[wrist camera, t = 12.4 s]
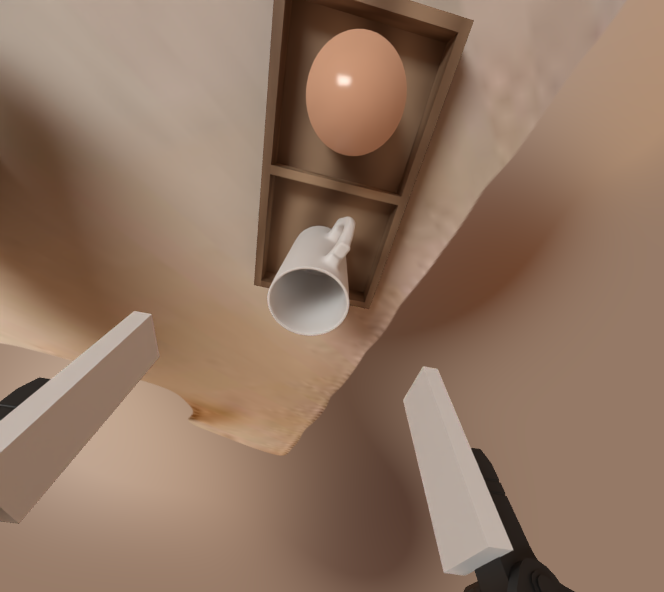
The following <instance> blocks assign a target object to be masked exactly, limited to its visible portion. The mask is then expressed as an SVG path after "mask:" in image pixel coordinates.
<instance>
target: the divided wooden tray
mask: <svg viewBox="0 0 664 592" xmlns="http://www.w3.org/2000/svg"><path fill="white" fill-rule="evenodd" d="M473 22H474V20H470V19H467V18H464V17H461V16H458V15H455V14H451V13H448V12H445V11H442V10H439V9H436V8H432V7H429V6H426V5H423V4H420V3H417V2H413V1H410V0H274V4H273V19H272V33H271V48H270V62H269V77H268V91H267V106H266V120H265V135H264V149H263V164H262V178H261V192H260V207H259V221H258V236H257V250H256V265H255V279H254V285H256V286H261V287H266V288H270V286H271V284H272V282H273V280H274V278H275V276H276V274H277V272H278V270H279V269H280V267H281V265H282V263H283V262H284V260H285V258H286V256H287V254H288V253H289V251H290V249H291V247H292V245H293V244H294V242H295V240H296V239H297V237H298V236H299V234H300V233H301V232H303V231H304V230H305V229H307V228H309V227H313V226H325V227H328V228H330V229H332V228H333V226H334V225H335V223H336V222H337V220H338V219H340V218H343V217H351V218H353V219H354V220H355V230H354V235H353V239H352V242H351V245H350V251H349V252H348V253H347V255H346V263H347V275H348V287H349V305H352V306H357V307H362V308H367V309H369V308H370V305H371V302H372V299H373V297H374V294H375V291H376V288H377V286H378V283H379V280H380V277H381V275H382V272H383V269H384V266H385V264H386V261H387V258H388V255H389V253H390V250H391V247H392V244H393V242H394V239H395V236H396V233H397V231H398V228H399V225H400V222H401V220H402V217H403V214H404V211H405V209H406V206H407V203H408V200H409V198H410V195H411V192H412V189H413V187H414V184H415V181H416V178H417V176H418V173H419V170H420V167H421V165H422V162H423V159H424V156H425V154H426V151H427V148H428V145H429V143H430V140H431V137H432V134H433V132H434V129H435V126H436V123H437V121H438V118H439V115H440V112H441V110H442V107H443V104H444V101H445V99H446V96H447V93H448V90H449V88H450V85H451V82H452V79H453V77H454V74H455V71H456V68H457V66H458V63H459V60H460V57H461V55H462V52H463V49H464V46H465V44H466V41H467V38H468V35H469V33H470V30H471V27H472V24H473ZM352 29H366V30H371V31H373V32H376V33H378V34H380V35H381V36H383V37H384V38H385V39H387V40H388V41H389V42H390V43H391V44H392V46H393V47H394V48H395V50H396V51H397V53H398V54H399V56H400V59H401V61H402V63H403V67H404V70H405V75H406V82H407V97H406V104H405V108H404V112H403V115H402V118H401V120H400V122H399V124H398V127H397V128H396V130H395V131H394V133H393V134H392V136H391V137H390V138H389V139H388V140H387V141H386V142H385V143H384V144H383V145H382V146H381V147H379V148H378V149H376V150H374V151H373V152H370V153H368V154H365V155H360V156H347V155H343V154H340V153H337V152H335V151H333V150H332V149H330V148H329V147H327V146H326V145H325V144H324V143H323V142H322V141H321V139H320V138H319V137H318V136H317V134H316V132H315V131H314V129H313V127H312V125H311V122H310V119H309V116H308V112H307V105H306V86H307V80H308V75H309V72H310V69H311V66H312V64H313V62H314V60H315V58H316V56H317V54H318V53H319V52H320V50H321V49H322V48H323V46H324V45H325V44H326V43H327V42H328V41H329V40H331V39H332V38H333V37H335V36H336V35H338V34H340V33H342V32H345V31H347V30H352Z"/></svg>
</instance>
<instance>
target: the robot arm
mask: <svg viewBox="0 0 664 592" xmlns="http://www.w3.org/2000/svg"><path fill="white" fill-rule="evenodd" d="M159 357H160V356H159V350H158V345H157V339H156V334H155V329H154V323H153V318H152V314H149V313H143V312H138V311H133V312H132V313H131V314H130V315H129V316H127V317H126V318H125V319H124V320H122V321H121V322H120V323H119V324H118V325H116V326H115V327H114V328H113V329H111V330H110V331H109V332H108V333H107V334H105V335H104V336H103V337H102V338H101V339H99V340H98V341H97V342H96V343H94V344H93V345H92V346H91V347H90V348H88V349H87V350H86V351H85V352H83V353H82V354H81V355H80V356H79V357H77V358H76V359H75V360H74V361H73V362H71V363H70V364H69V365H68V366H66V367H65V368H64V369H63V370H62V371H60V372H59V373H58V374H57V375H56V376H54V377H53V378H52V379H45V378H37V379H36V380H34V381H32V382H30V383H28V384H26V385H24V386H22V387H20V388H18V389H16V390H15V391H14V392H12V393H11V394H10V395H8V396H7V397H6V398H4V399H3V400H2V401H1V402H0V521H1V522H10V523H18V524H19V523H20V522H21V521H22V520H23V518H24V517H25V516H26V515H27V514H28V512H29V511H30V510H31V509H32V508H33V507H34V505H35V504H36V503H37V502H38V501H39V499H40V498H41V497H42V496H43V494H44V493H45V492H46V491H47V490H48V489H49V488H50V486H51V485H52V484H53V482H55V480H56V479H57V478H58V477H59V476H60V474H61V473H62V472H63V471H64V470H65V469H66V467H67V466H68V465H69V464H70V463H71V461H72V460H73V459H74V458H75V457H76V455H77V454H78V453H79V452H80V451H81V450H82V448H83V447H84V446H85V445H86V444H87V442H88V441H89V440H90V439H91V438H92V436H93V435H94V434H95V433H96V432H97V431H98V429H99V428H100V427H101V426H102V424H103V423H104V422H105V421H106V420H107V419H108V417H109V416H110V415H111V414H112V413H113V411H114V410H115V409H116V408H117V407H118V406H119V404H120V403H121V402H122V401H123V400H124V398H125V397H126V396H127V395H128V394H129V392H130V391H131V390H132V389H133V388H134V387H135V385H136V384H137V383H138V382H139V381H140V379H141V378H142V377H143V376H144V375H145V374H146V372H147V371H148V370H149V369H150V368H151V366H152V365H153V364H154V363H155V362H156V360H157V359H158V358H159ZM403 402H404V406H405V409H406V414H407V419H408V423H409V427H410V431H411V435H412V439H413V444H414V448H415V452H416V457H417V461H418V465H419V469H420V474H421V478H422V482H423V486H424V490H425V495H426V498H427V503H428V507H429V512H430V515H431V520H432V524H433V528H434V533H435V537H436V541H437V545H438V550H439V553H440V558H441V562H442V566H443V570H444V573H449V574H457V575H467V574H469V573H471V572H473V571H475V573H476V576H477V580H478V581H477V582H475V583H473V584H471V585H469V586H467V587H466V588H465V590H464V592H574V591H572V590H571V589H569V588H567V587H565V586H564V585H562V584H561V583H559V581H558V579H557V578H556V577H555V575H554V574H553V573H552V572H551V571H550V570H549V569H548V568H547V567H546V566H544V565H543V564H542V563H541V562H539V561H538V560H537V558H536V557H535V555H534V553H533V552H532V550H531V548H530V546H529V543H528V541H527V539H526V537H525V535H524V533H523V531H522V528H521V526H520V524H519V522H518V520H517V518H516V515H515V513H514V512H513V509H512V507H511V505H510V502H509V500H508V498H507V496H505V492H504V489H503V488H502V485H501V483H499V479H498V477H497V474H496V472H495V470H494V468H493V466H492V464H491V463H490V461H489V460H488V458H487V457H486V456H485V454H484V453H483V452H482V451H481V450H480V449H475V448H470V445H469V443H468V440H467V438H466V436H465V433H464V431H463V429H462V426H461V424H460V421H459V419H458V417H457V414H456V412H455V410H454V407H453V405H452V403H451V400H450V398H449V395H448V393H447V391H446V388H445V386H444V383H443V381H442V378H441V376H440V374H439V372H438V369H435V368H429V367H425V366H423V367H422V369H421V371H420V373H419V374H418V376H417V378H416V379H415V381H414V383H413V384H412V386H411V388H410V389H409V391H408V393H407V394H406V396H405V398H404V399H403Z"/></svg>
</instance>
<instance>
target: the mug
mask: <svg viewBox="0 0 664 592" xmlns="http://www.w3.org/2000/svg"><path fill="white" fill-rule="evenodd" d="M354 230H355V220H354V219H353V218H351V217H343V218H340V219H338V220H337V222H336V223H335V225H334V226H333V228H332V229H330V228H328V227H325V226H313V227H309V228H307V229H305V230H304V231H303V232H301V233H300V234H299V236H298V237H297V239H296V240H295V242H294V244H293V245H292V247H291V249H290V251H289V253H288V254H287V256H286V258H285V260H284V262H283V263H282V265H281V267H280V269H279V270H278V272H277V274H276V276H275V278H274V280H273V282H272V284H271V286H270V288H269V291H268V297H267V301H268V307H269V310H270V312H271V314H272V316H273V317H274V319H275V320H276V321H277V322H278V323H279V324H280V325H281V326H282V327H284V328H285V329H287V330H289V331H291V332H293V333H296V334H300V335H306V336H315V335H322V334H325V333H328V332H330V331H332V330H334V329H335V328H337V327H338V326H339V325H340V324H341V323H342V322H343V321H344V319H345V318H346V316H347V313H348V310H349V287H348V275H347V263H346V255H347V253H348V252H349V251H350V245H351V242H352V239H353V235H354Z"/></svg>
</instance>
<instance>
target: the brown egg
mask: <svg viewBox="0 0 664 592" xmlns="http://www.w3.org/2000/svg"><path fill="white" fill-rule="evenodd" d="M406 97H407V82H406V75H405V70H404V67H403V63H402V61H401V59H400V56H399V54H398V53H397V51H396V50H395V48H394V47H393V46H392V44H391V43H390V42H389V41H388V40H387V39H385V38H384V37H383V36H381V35H380V34H378V33H376V32H373V31H371V30H366V29H352V30H347V31H345V32H342V33H340V34H338V35H336V36H335V37H333V38H332V39H331V40H329V41H328V42H327V43H326V44H325V45H324V46H323V48H322V49H321V50H320V52H319V53H318V54H317V56H316V58H315V60H314V62H313V64H312V66H311V69H310V72H309V75H308V80H307V86H306V105H307V112H308V116H309V119H310V122H311V125H312V127H313V129H314V131H315V132H316V134H317V136H318V137H319V138H320V139H321V141H322V142H323V143H324V144H325V145H326V146H327V147H329V148H330V149H332V150H333V151H335V152H337V153H340V154H343V155H347V156H360V155H365V154H368V153H370V152H373V151H374V150H376V149H378V148H379V147H381V146H382V145H383V144H384V143H385V142H386V141H387V140H388V139H389V138H390V137H391V136H392V134H393V133H394V131H395V130H396V128H397V127H398V124H399V122H400V120H401V118H402V115H403V112H404V108H405V104H406Z"/></svg>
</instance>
